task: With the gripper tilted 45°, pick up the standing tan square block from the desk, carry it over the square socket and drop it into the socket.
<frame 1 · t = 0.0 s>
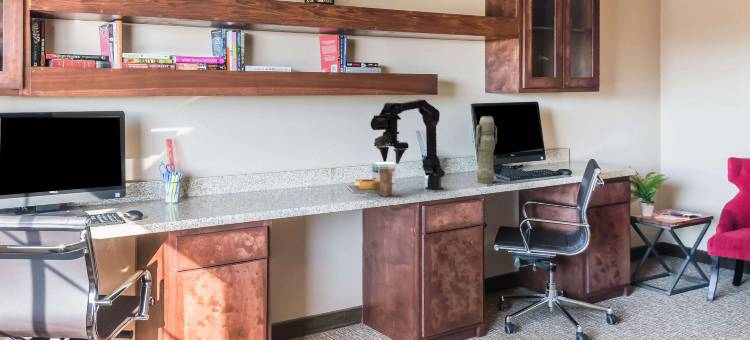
hand: (390, 162, 330), 15 cm above the worktop, tool pointing down, fingers open, 9 cm apart
light bulb box: (383, 183, 368), on the worktop
square socket: (368, 190, 342), on the worktop
stone statue: (485, 182, 372), on the worktop
tan square block: (386, 194, 329), on the worktop
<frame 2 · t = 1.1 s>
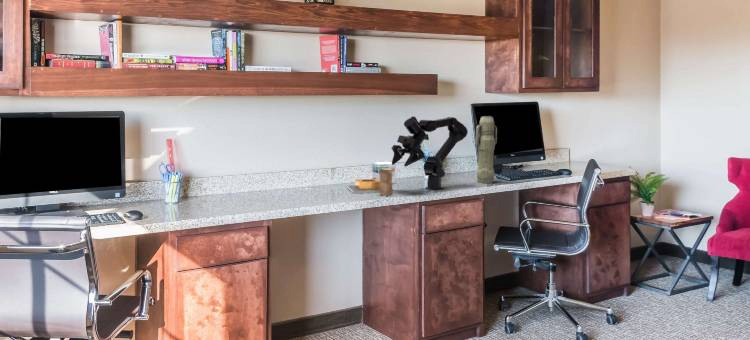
hand: (398, 165, 332), 13 cm above the worktop, tool tilted 45°, fingers open, 9 cm apart
nothing on the worktop moved.
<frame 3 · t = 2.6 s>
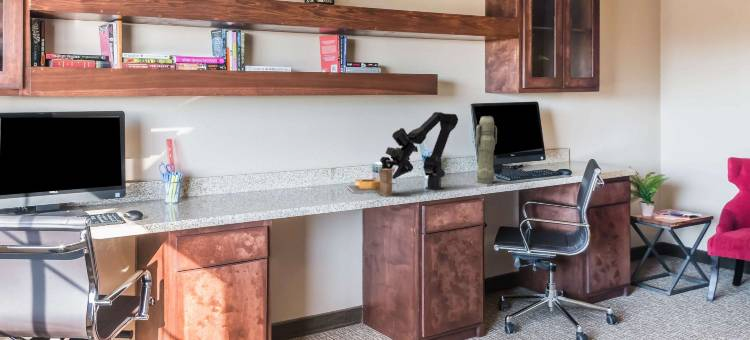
hand: (386, 177, 328), 8 cm above the worktop, tool tilted 45°, fingers open, 9 cm apart
nothing on the worktop moved.
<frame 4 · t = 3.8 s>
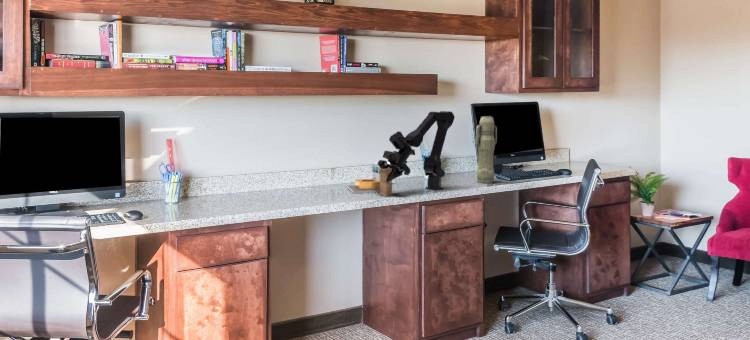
hand: (383, 180, 327), 7 cm above the worktop, tool tilted 45°, fingers closed on tan square block, 4 cm apart
tan square block: (386, 194, 329), on the worktop, touching gripper
everything else where it was.
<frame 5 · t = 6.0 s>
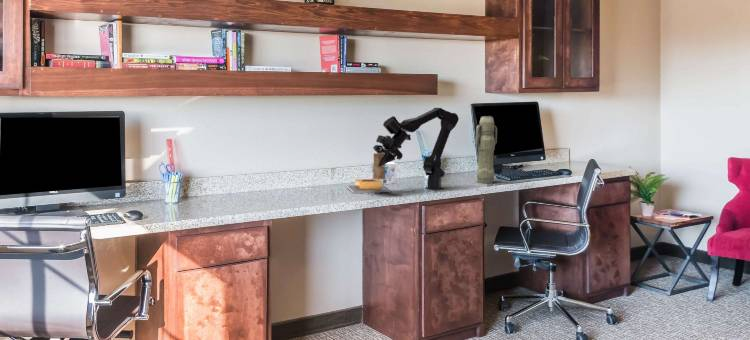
hand: (376, 165, 330), 14 cm above the worktop, tool tilted 45°, fingers closed on tan square block, 4 cm apart
tan square block: (379, 178, 331), point 7 cm above the worktop, touching gripper
everything else where it was.
when the fingers open (9 cm above the worktop, at t = 8.3 s): tan square block drops 1 cm, resting on square socket.
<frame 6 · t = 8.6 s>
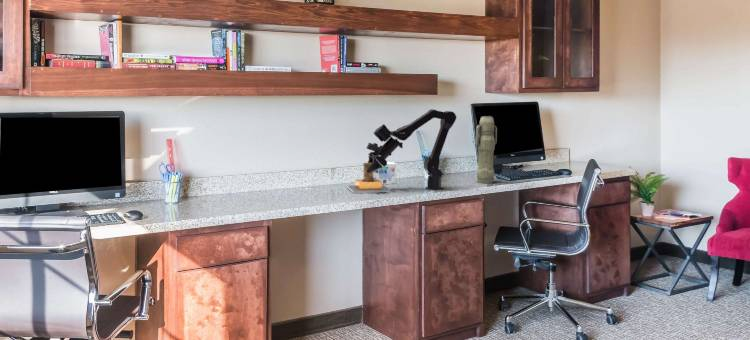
hand: (365, 171, 341), 9 cm above the worktop, tool tilted 45°, fingers open, 7 cm apart
tan square block: (368, 187, 342), point 1 cm above the worktop, touching square socket
everything else where it was.
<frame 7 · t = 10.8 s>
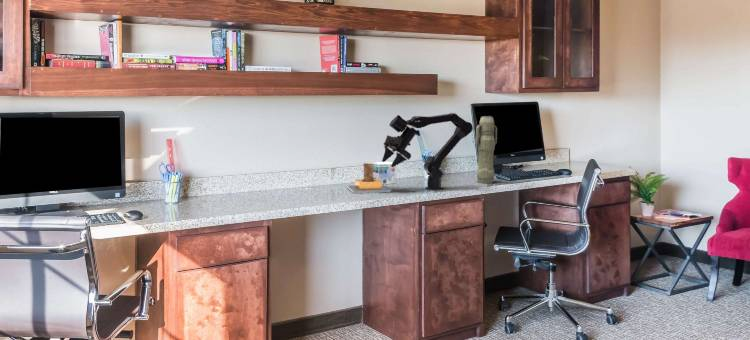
hand: (387, 164, 342), 13 cm above the worktop, tool tilted 35°, fingers open, 9 cm apart
nothing on the worktop moved.
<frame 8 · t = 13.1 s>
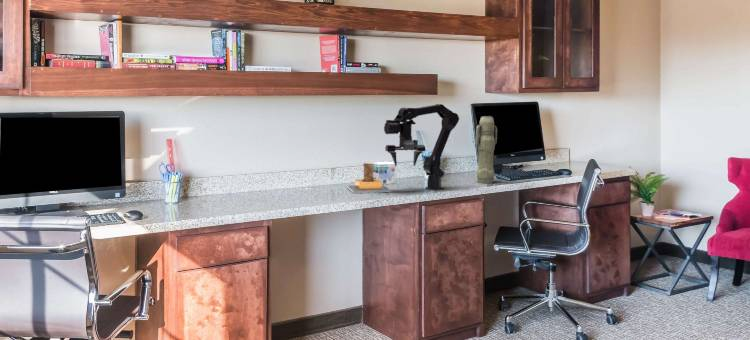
hand: (405, 165, 341), 12 cm above the worktop, tool pointing down, fingers open, 9 cm apart
nothing on the worktop moved.
at the end: tan square block 0.0 cm from the square socket (horizontally); tan square block point 1.2 cm above the worktop; tan square block tilted 0° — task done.
